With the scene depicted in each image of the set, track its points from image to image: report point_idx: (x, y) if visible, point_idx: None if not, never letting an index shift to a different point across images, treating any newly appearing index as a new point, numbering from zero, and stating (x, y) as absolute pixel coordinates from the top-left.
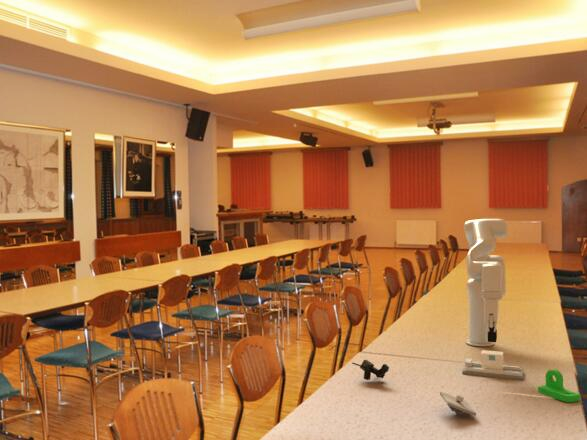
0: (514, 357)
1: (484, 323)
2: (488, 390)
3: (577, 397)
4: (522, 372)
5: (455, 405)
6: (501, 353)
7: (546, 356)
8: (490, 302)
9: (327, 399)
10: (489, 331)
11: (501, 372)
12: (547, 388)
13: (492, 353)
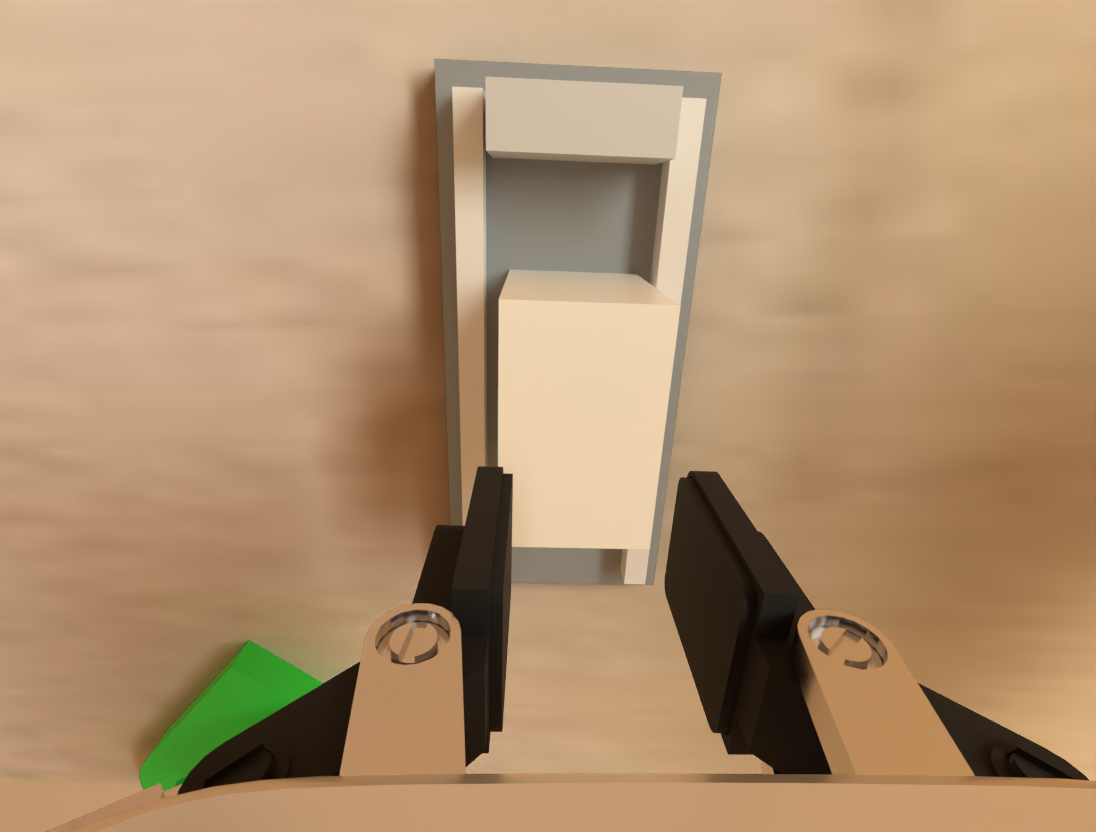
0: (1068, 523)
1: (121, 814)
2: (67, 339)
3: None
4: (573, 583)
5: None
6: (572, 533)
7: (1088, 708)
8: None
9: None
10: (417, 644)
11: (461, 450)
12: (225, 709)
13: (538, 439)
